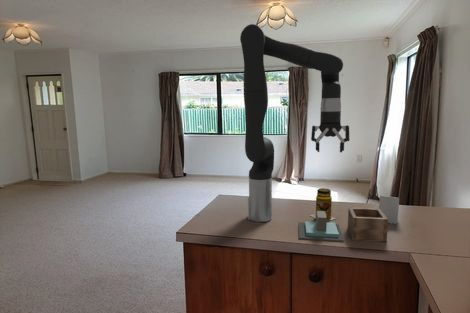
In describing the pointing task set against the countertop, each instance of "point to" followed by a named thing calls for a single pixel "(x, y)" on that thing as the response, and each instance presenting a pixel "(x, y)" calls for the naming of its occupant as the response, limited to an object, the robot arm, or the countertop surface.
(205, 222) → the countertop surface
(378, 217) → the storage box
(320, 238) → the mat
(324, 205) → the condiment
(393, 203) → the grey rectangular block
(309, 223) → the lid
